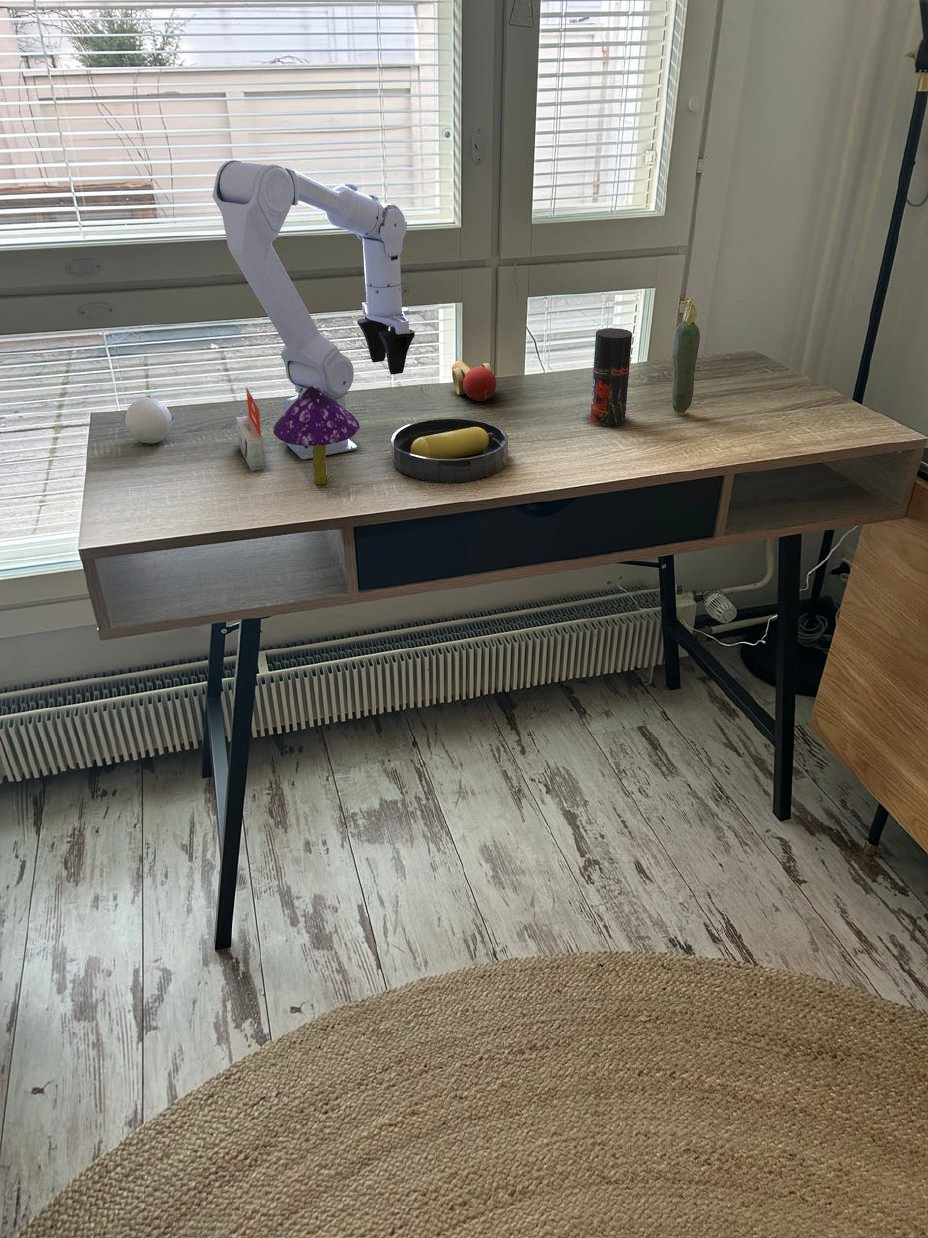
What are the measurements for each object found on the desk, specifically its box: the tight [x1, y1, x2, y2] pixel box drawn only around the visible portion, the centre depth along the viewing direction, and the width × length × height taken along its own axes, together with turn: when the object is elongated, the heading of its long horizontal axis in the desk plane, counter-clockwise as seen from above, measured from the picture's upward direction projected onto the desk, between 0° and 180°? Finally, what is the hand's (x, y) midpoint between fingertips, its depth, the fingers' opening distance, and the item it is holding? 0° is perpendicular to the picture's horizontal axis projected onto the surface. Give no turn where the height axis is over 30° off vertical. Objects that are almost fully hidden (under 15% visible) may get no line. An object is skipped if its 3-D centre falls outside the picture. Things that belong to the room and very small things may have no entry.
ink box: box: [235, 387, 266, 472], centre depth 149 cm, size 2×11×10 cm, turn 21°
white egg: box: [124, 397, 174, 445], centre depth 157 cm, size 10×7×7 cm
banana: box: [411, 427, 494, 459], centre depth 149 cm, size 14×4×4 cm, turn 118°
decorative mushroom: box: [272, 386, 361, 486], centre depth 139 cm, size 12×12×15 cm
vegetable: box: [671, 296, 701, 416], centre depth 161 cm, size 4×4×20 cm
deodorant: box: [589, 327, 633, 428], centre depth 161 cm, size 6×6×15 cm
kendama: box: [451, 360, 497, 402], centre depth 178 cm, size 8×6×18 cm
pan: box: [390, 417, 509, 484], centre depth 149 cm, size 18×18×4 cm
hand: (387, 367), depth 161 cm, fingers open, 7 cm apart
